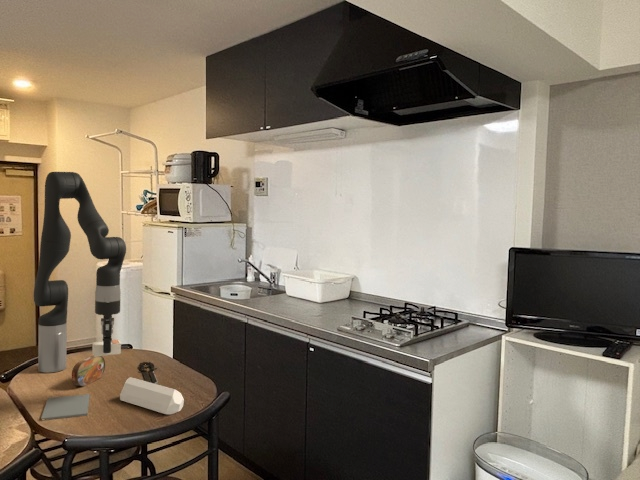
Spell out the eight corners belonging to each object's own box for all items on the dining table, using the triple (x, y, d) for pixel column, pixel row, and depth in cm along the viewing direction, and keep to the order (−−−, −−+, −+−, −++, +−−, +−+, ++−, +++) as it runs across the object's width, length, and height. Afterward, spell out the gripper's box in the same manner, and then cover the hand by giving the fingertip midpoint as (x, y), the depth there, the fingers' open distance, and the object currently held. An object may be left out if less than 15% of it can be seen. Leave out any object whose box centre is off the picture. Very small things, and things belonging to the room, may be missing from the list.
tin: (77, 389, 166) (78, 365, 165) (69, 388, 166) (69, 364, 166) (105, 375, 180) (106, 352, 180) (98, 374, 181) (98, 352, 180)
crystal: (110, 390, 156) (166, 407, 145) (126, 374, 162) (181, 388, 150) (120, 406, 160) (175, 424, 149) (135, 389, 165) (189, 405, 154)
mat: (47, 399, 156) (47, 398, 156) (89, 395, 161) (89, 393, 161) (41, 420, 141) (41, 418, 141) (87, 415, 146) (87, 413, 146)
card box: (92, 352, 161) (92, 341, 161) (118, 350, 165) (118, 339, 165) (94, 356, 157) (94, 345, 157) (120, 353, 161) (121, 342, 161)
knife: (158, 386, 173) (158, 382, 173) (138, 388, 170) (138, 384, 170) (155, 364, 196) (155, 360, 196) (138, 365, 194) (138, 361, 194)
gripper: (95, 295, 165) (95, 345, 166) (94, 303, 152) (93, 357, 153) (120, 294, 168) (119, 343, 169) (120, 302, 155) (119, 356, 156)
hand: (107, 350), depth 161 cm, fingers closed on card box, 5 cm apart
